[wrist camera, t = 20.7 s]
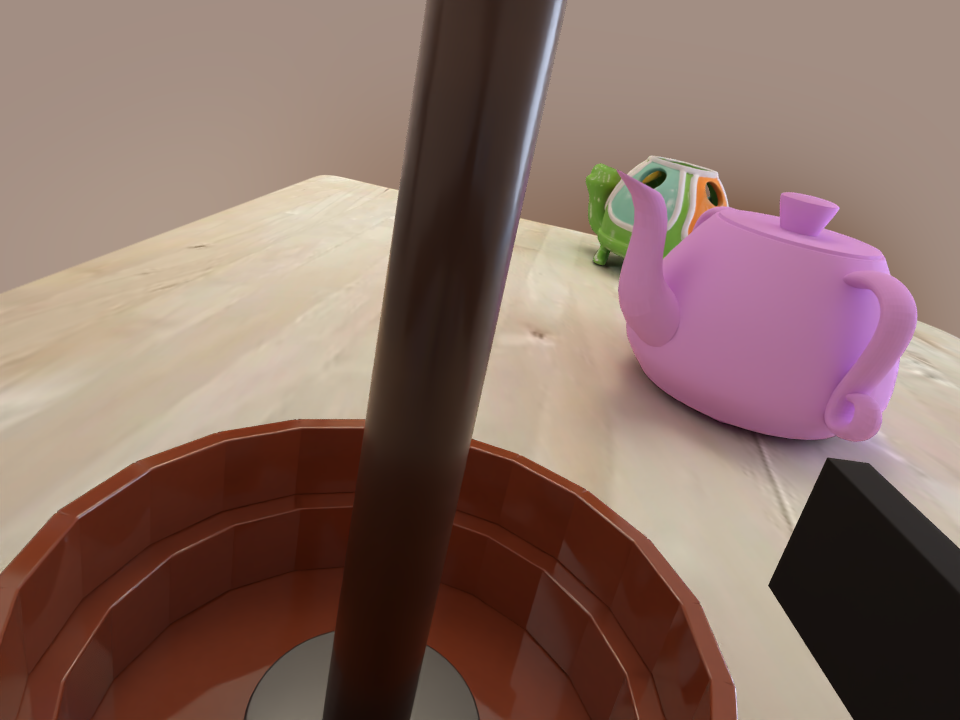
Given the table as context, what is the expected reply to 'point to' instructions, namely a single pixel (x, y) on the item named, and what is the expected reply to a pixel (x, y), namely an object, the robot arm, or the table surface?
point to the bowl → (317, 586)
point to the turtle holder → (668, 177)
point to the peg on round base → (428, 365)
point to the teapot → (766, 317)
